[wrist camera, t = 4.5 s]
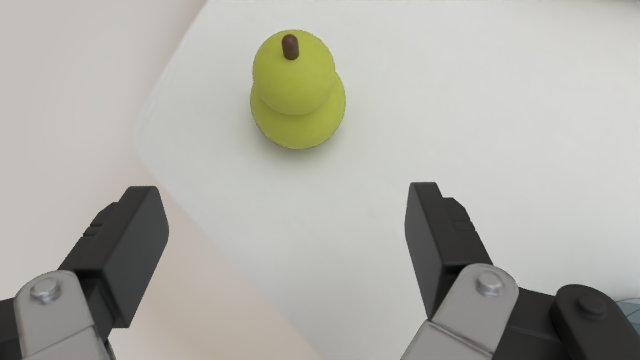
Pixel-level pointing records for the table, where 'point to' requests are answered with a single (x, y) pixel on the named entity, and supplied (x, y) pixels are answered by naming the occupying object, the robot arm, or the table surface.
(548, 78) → the table surface
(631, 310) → the bowl
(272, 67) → the pear
